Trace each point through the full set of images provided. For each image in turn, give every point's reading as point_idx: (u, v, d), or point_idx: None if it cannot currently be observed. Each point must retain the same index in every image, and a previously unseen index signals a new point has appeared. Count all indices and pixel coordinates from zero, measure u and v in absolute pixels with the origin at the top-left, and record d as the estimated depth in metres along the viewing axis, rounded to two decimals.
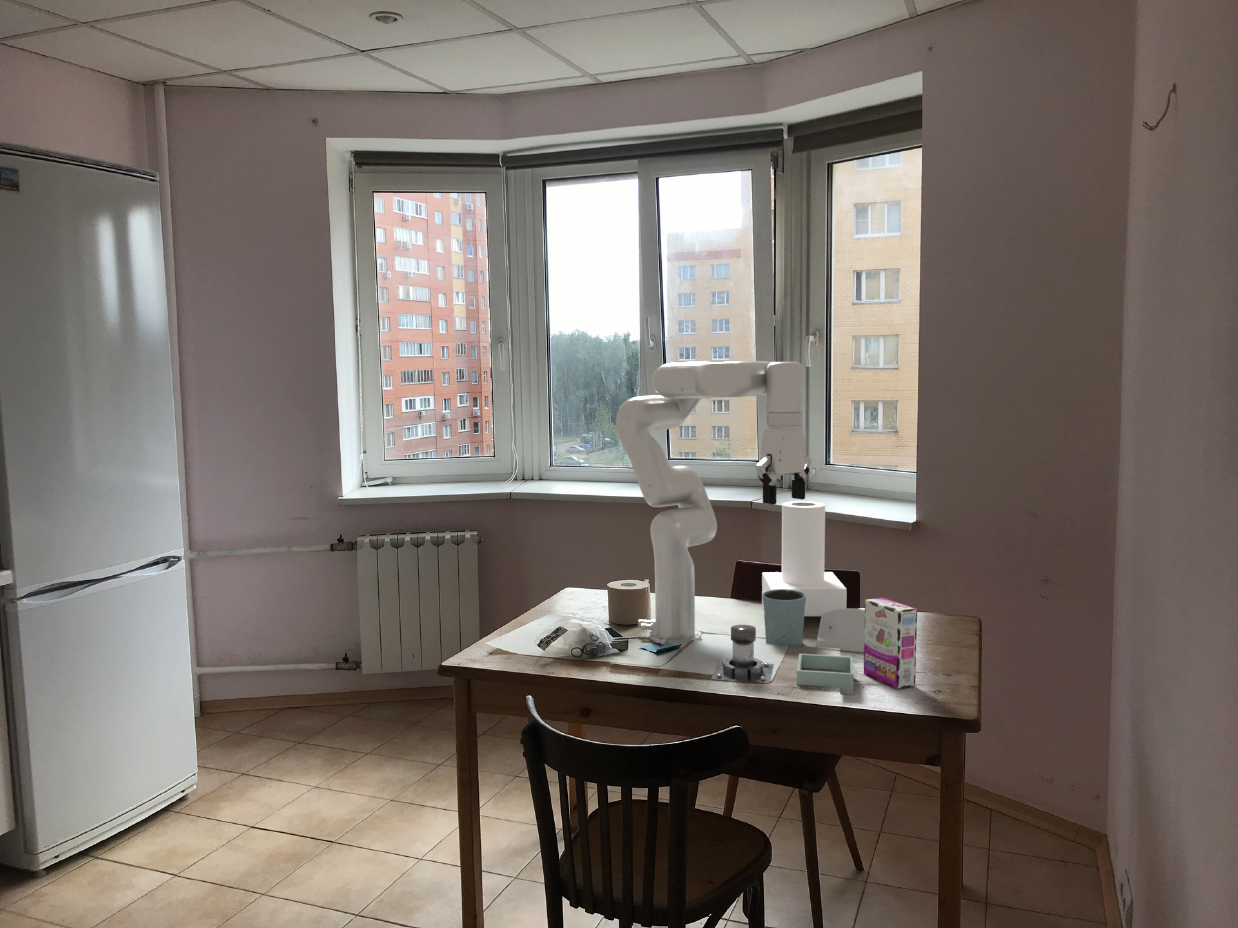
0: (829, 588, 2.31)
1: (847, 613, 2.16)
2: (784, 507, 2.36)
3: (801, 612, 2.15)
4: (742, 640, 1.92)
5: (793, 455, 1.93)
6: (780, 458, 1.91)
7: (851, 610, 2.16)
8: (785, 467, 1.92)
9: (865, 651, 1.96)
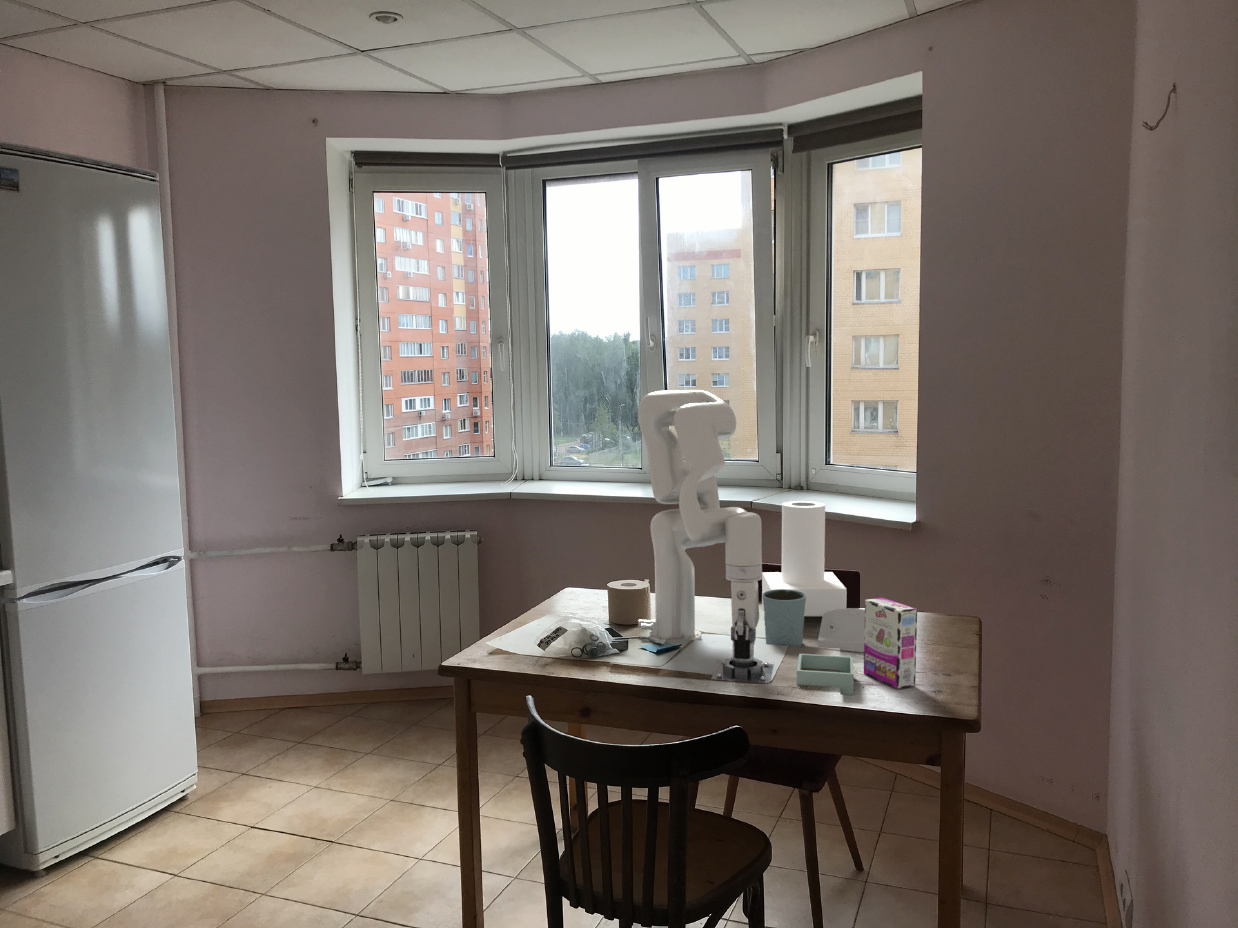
0: (829, 588, 2.31)
1: (848, 613, 2.16)
2: (784, 507, 2.36)
3: (801, 612, 2.15)
4: None
5: None
6: None
7: (852, 610, 2.16)
8: None
9: (865, 651, 1.96)
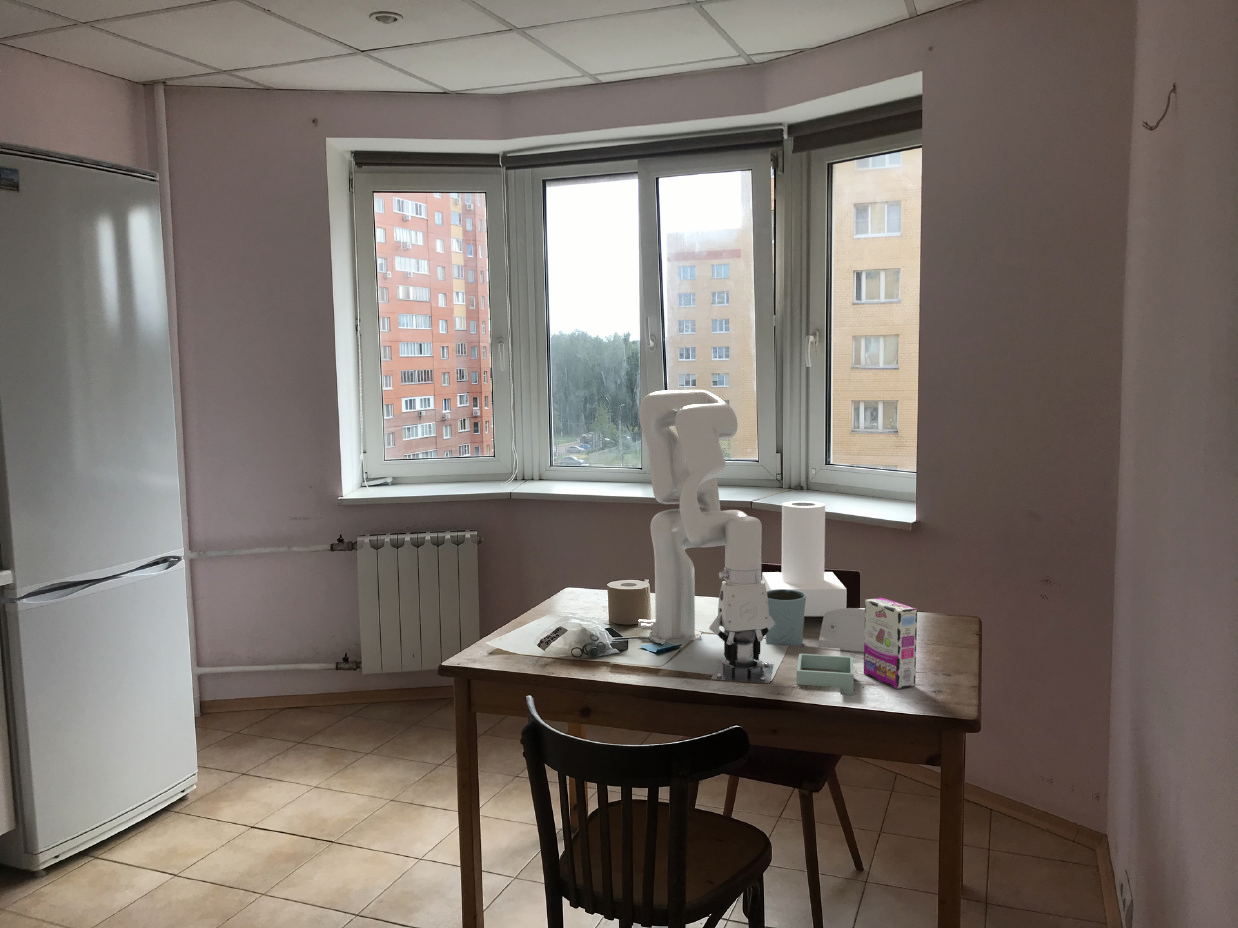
0: (829, 588, 2.31)
1: (849, 613, 2.16)
2: (784, 507, 2.36)
3: (801, 612, 2.15)
4: (742, 640, 1.92)
5: None
6: None
7: (853, 610, 2.16)
8: None
9: (865, 651, 1.96)
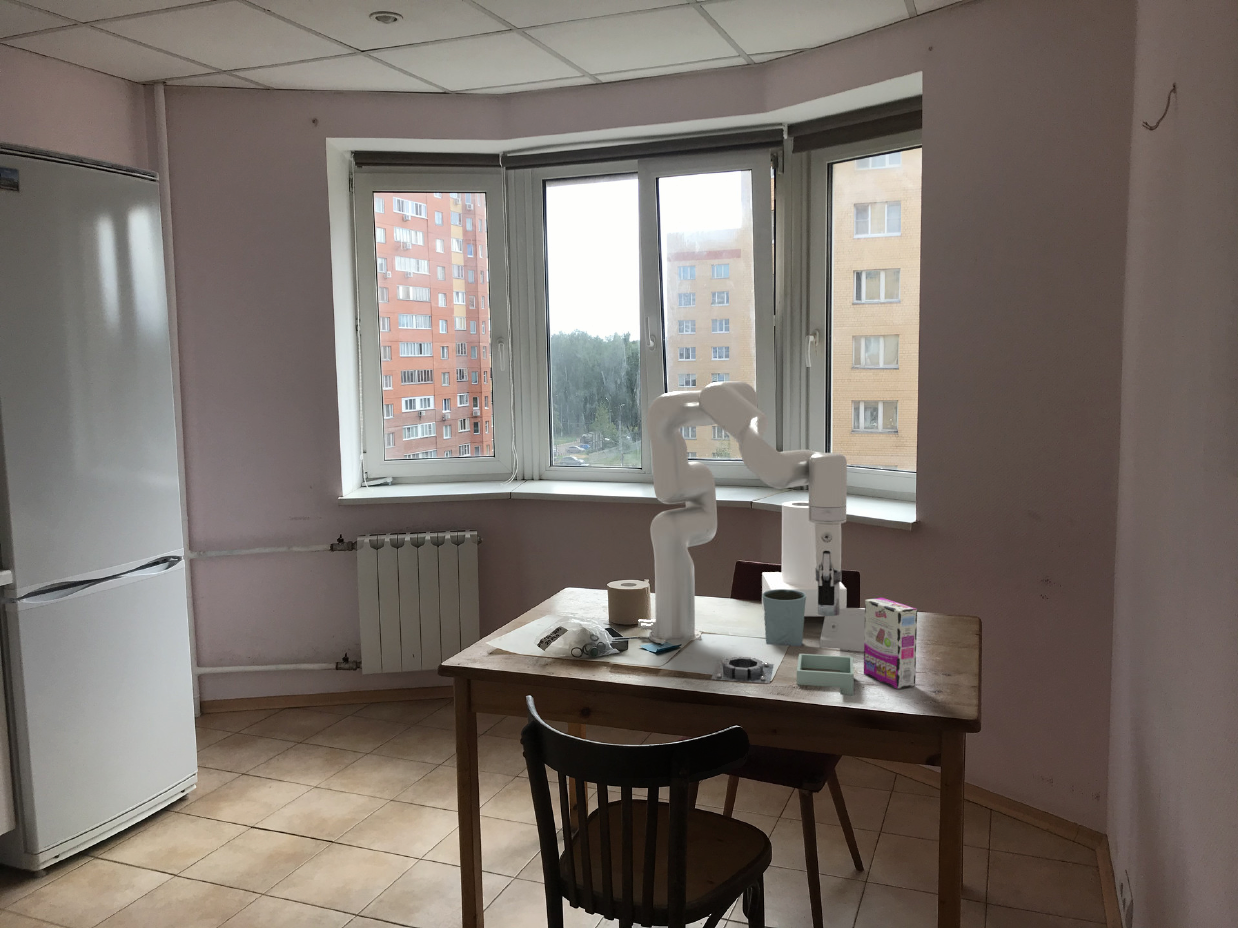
0: None
1: (850, 613, 2.17)
2: (784, 507, 2.36)
3: (801, 612, 2.15)
4: (839, 579, 1.88)
5: None
6: None
7: (854, 610, 2.16)
8: None
9: (865, 651, 1.96)
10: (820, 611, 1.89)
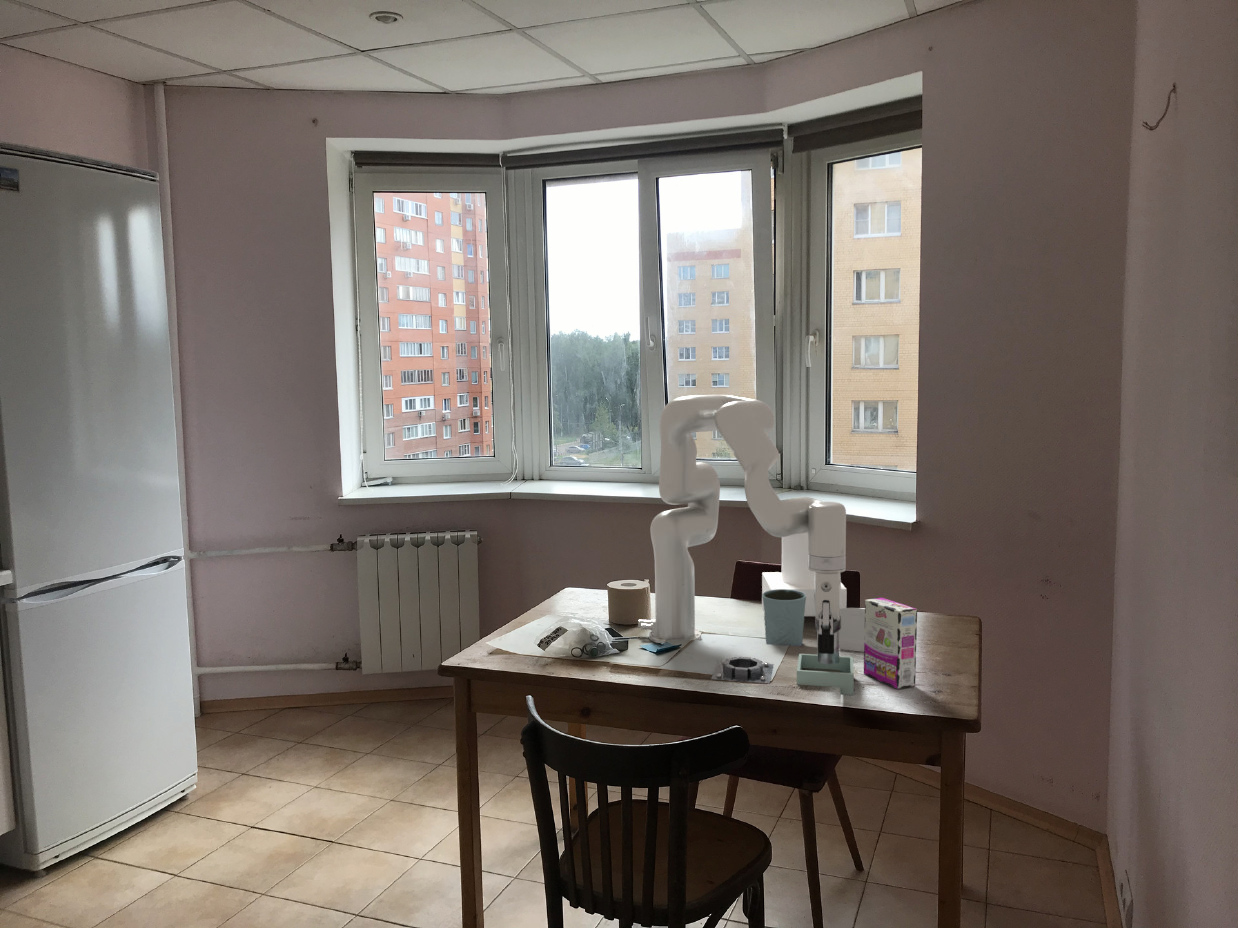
0: None
1: (851, 613, 2.17)
2: None
3: (801, 612, 2.15)
4: (839, 627, 1.89)
5: None
6: None
7: (855, 610, 2.16)
8: None
9: (865, 651, 1.96)
10: (820, 659, 1.90)
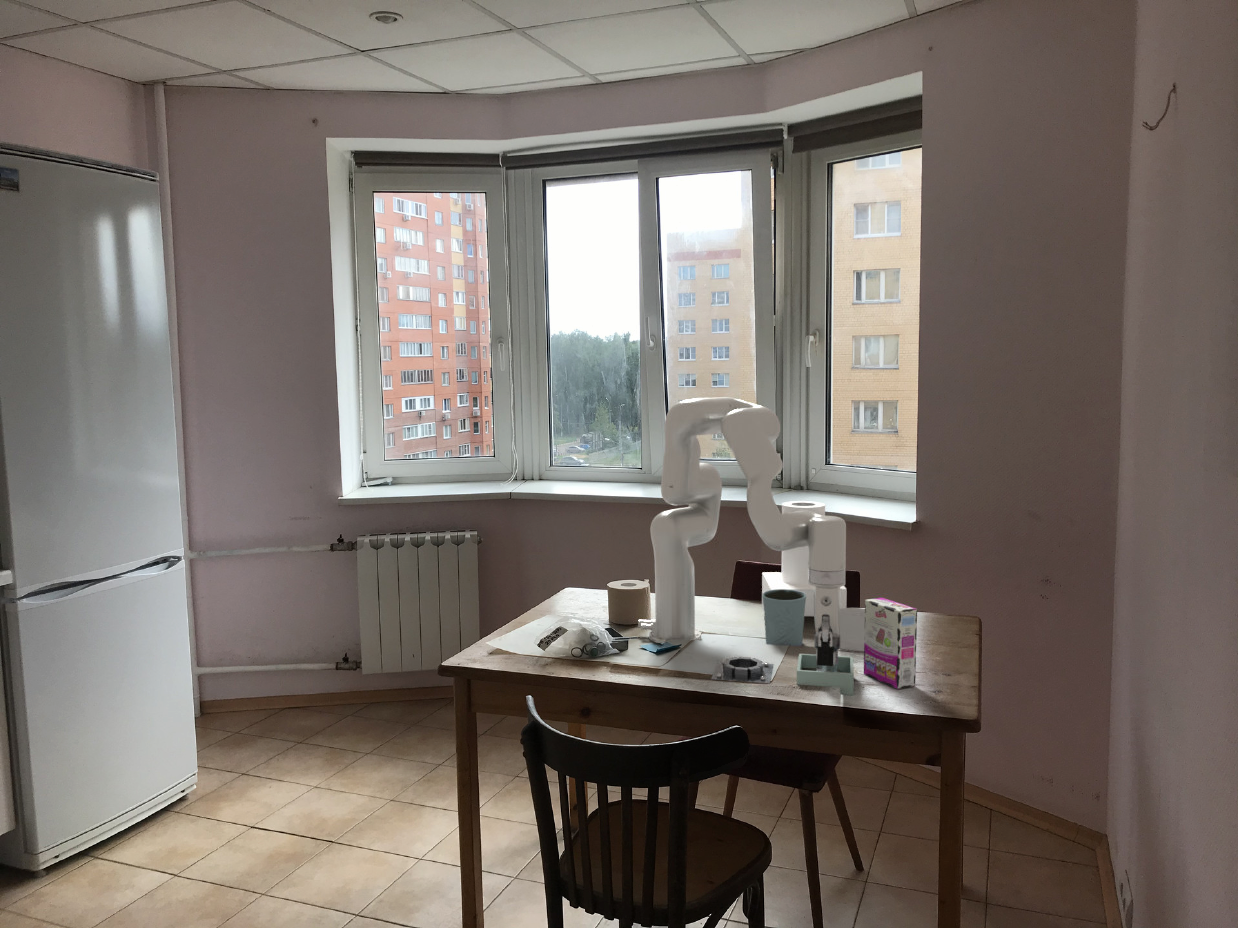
0: None
1: (852, 613, 2.17)
2: (784, 507, 2.36)
3: (801, 612, 2.15)
4: (838, 646, 1.89)
5: None
6: None
7: (856, 609, 2.17)
8: None
9: (865, 651, 1.96)
10: None
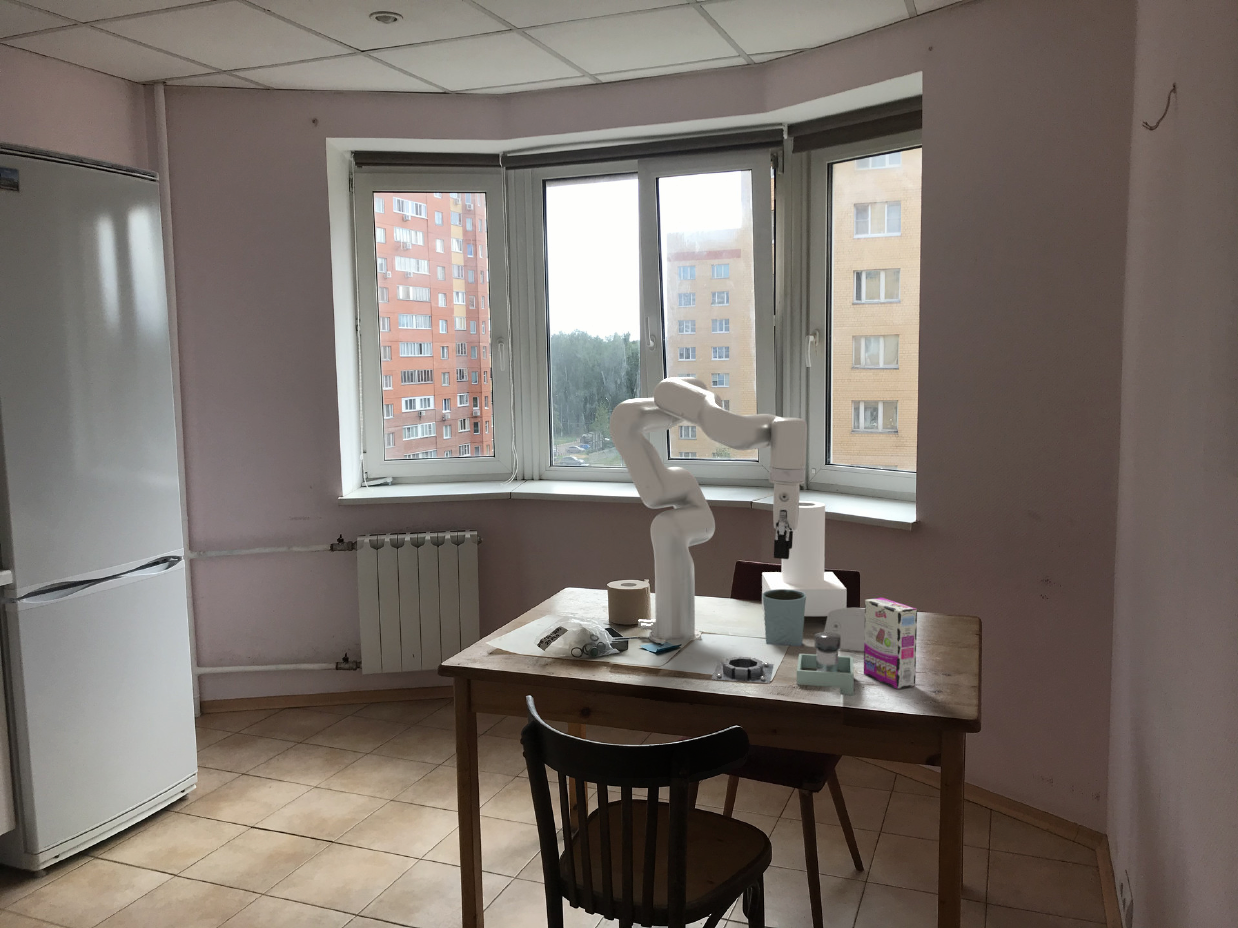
0: (829, 588, 2.31)
1: (852, 613, 2.17)
2: None
3: (801, 612, 2.15)
4: (838, 647, 1.89)
5: None
6: None
7: (857, 609, 2.17)
8: None
9: (865, 651, 1.96)
10: None
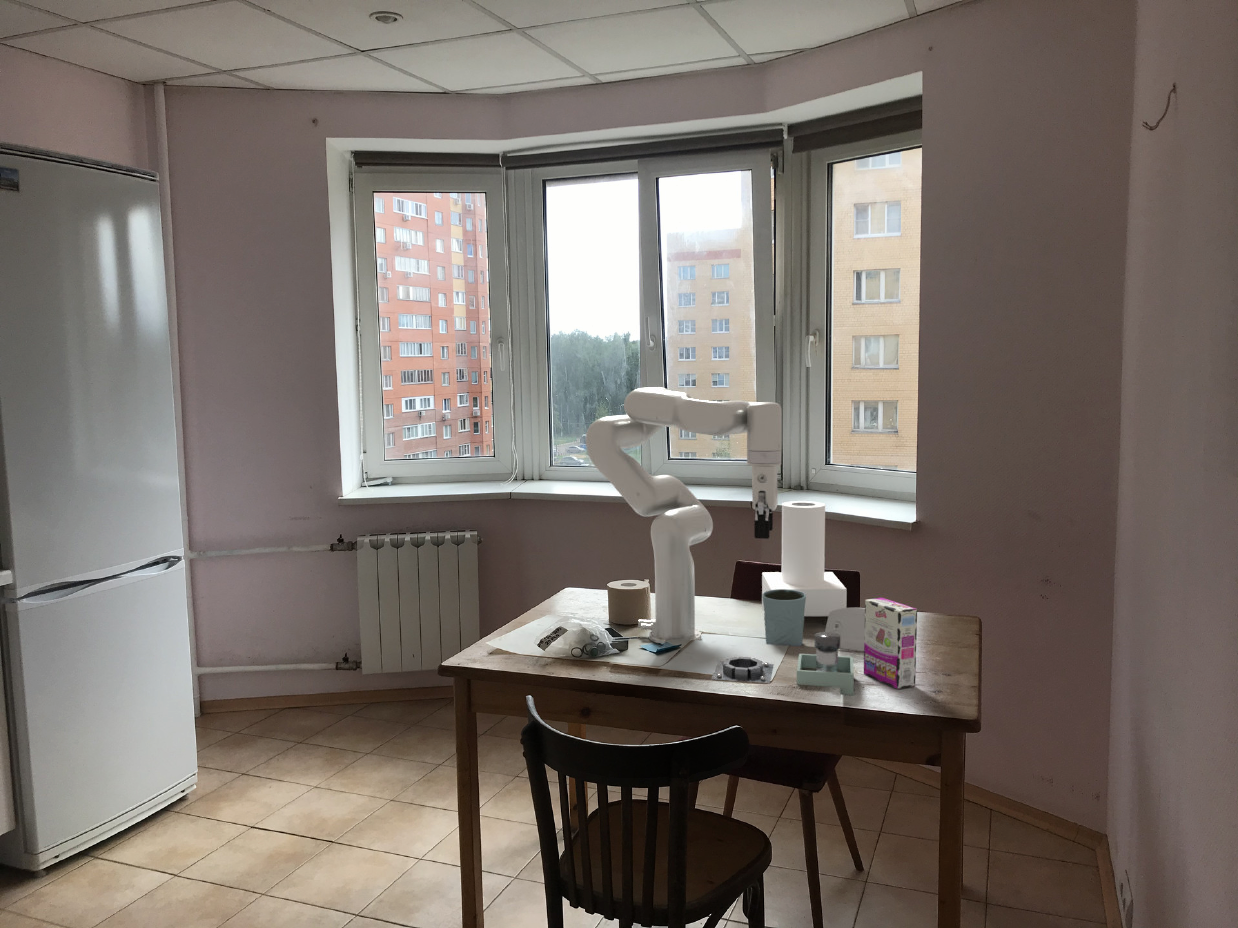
0: (829, 588, 2.31)
1: (853, 613, 2.17)
2: (784, 507, 2.36)
3: (801, 612, 2.15)
4: (838, 646, 1.89)
5: None
6: None
7: (858, 609, 2.17)
8: None
9: (865, 651, 1.96)
10: None
